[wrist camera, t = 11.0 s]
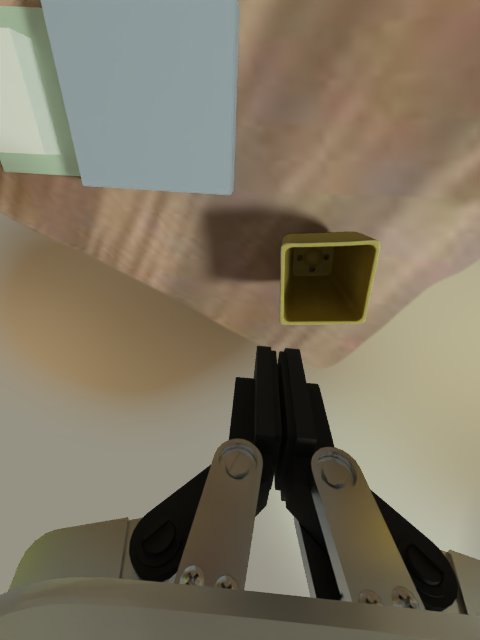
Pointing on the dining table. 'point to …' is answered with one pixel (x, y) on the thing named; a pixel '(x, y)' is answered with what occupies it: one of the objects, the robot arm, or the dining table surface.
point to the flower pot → (326, 277)
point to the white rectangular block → (23, 99)
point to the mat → (65, 163)
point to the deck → (149, 90)
